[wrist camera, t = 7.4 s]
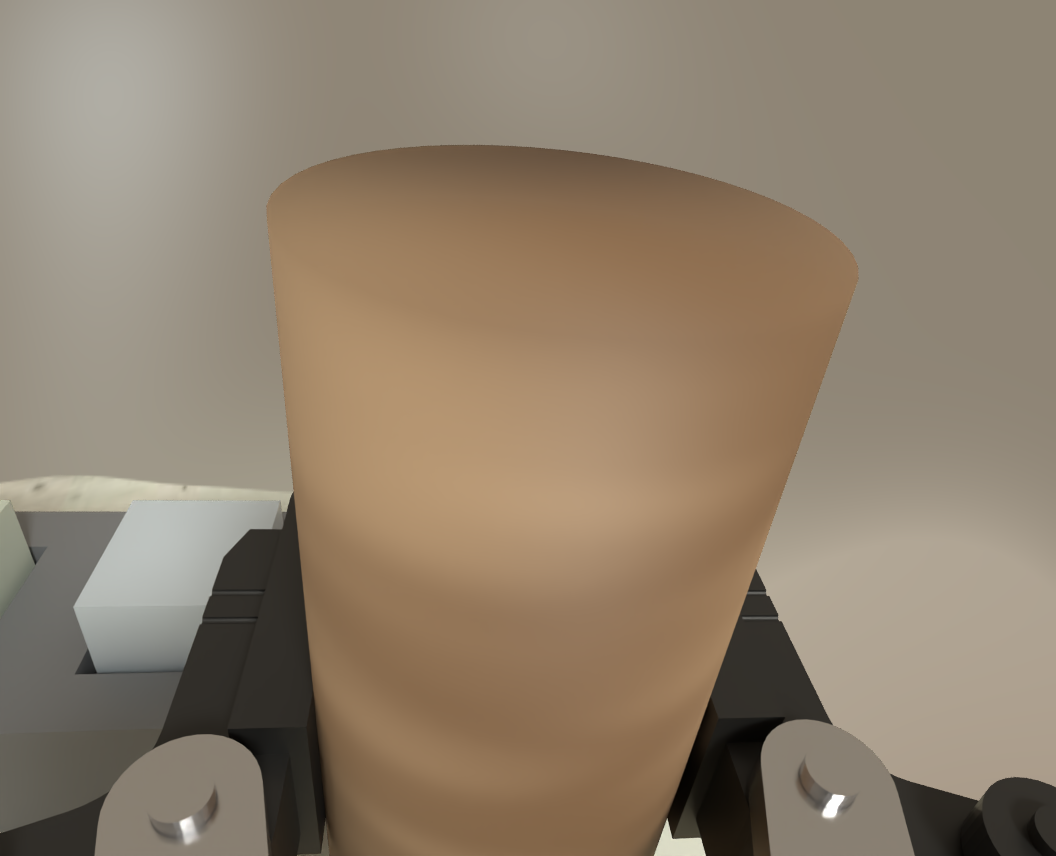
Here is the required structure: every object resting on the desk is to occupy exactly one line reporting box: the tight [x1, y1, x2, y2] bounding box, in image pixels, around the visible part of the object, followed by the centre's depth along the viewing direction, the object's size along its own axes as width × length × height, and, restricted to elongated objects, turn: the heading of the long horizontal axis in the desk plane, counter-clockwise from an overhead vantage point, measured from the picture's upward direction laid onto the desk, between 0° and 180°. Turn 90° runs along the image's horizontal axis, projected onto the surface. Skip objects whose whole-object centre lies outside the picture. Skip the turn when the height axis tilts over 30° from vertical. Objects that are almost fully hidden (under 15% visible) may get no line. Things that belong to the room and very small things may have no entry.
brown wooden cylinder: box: [267, 145, 858, 856], centre depth 9 cm, size 4×4×14 cm
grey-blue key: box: [73, 500, 283, 674], centre depth 25 cm, size 5×5×4 cm
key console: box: [0, 512, 287, 832], centre depth 27 cm, size 27×10×5 cm, turn 95°
